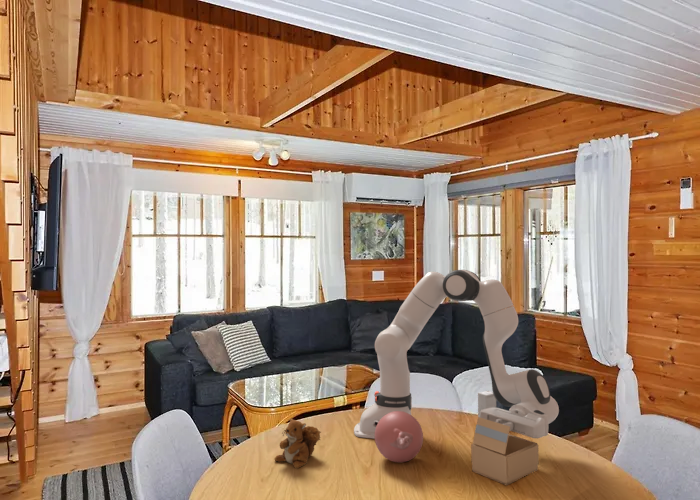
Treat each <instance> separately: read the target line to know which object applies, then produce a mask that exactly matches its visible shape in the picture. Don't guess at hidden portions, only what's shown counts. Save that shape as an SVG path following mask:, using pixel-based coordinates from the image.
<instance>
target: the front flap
mask: <svg viewBox="0 0 700 500" xmlns="http://www.w3.org/2000/svg"><path fill="white" fill-rule="evenodd" d="M510 432H511V431H510V427H509V426H506V425H503V424H500V423H496V422H493V421H490V420H487V419H483V418H480V417H478V416H477V421H476V425H475V430H474V436H473V441H472V444H473V443H474V444H477V445H479V446H482V447H485V448H488V449H490V450H493V451H496V452H499V453H502V454H505V453H506V447H507V442H508V437H509V434H510Z"/></svg>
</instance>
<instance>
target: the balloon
mask: <svg viewBox="0 0 700 500" xmlns="http://www.w3.org/2000/svg"><path fill="white" fill-rule="evenodd" d="M374 441H375V445H376V448H377V449H378V451H379V453H380V454H381V455H382V456H383V457H384V458H385V459H387V460H389V461H391V462H392V463H399V464H401V463H405V462H409V461H411V460H412V459H414V458H416V456H417V455H418V454H419V453H420V451H421V448H422V446H423V442H424V432H423V429H422V427H421V424H420V422H419V421H418V419H416V417H414V416H413V415H412V414H411V415H410V414H408V413H406V412H402V411H394V412H390V413H388V414H386V415H385V416H383V417H382V418H381V419H380V421H379V422H378V424H377V426H376V429H375V439H374Z"/></svg>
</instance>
